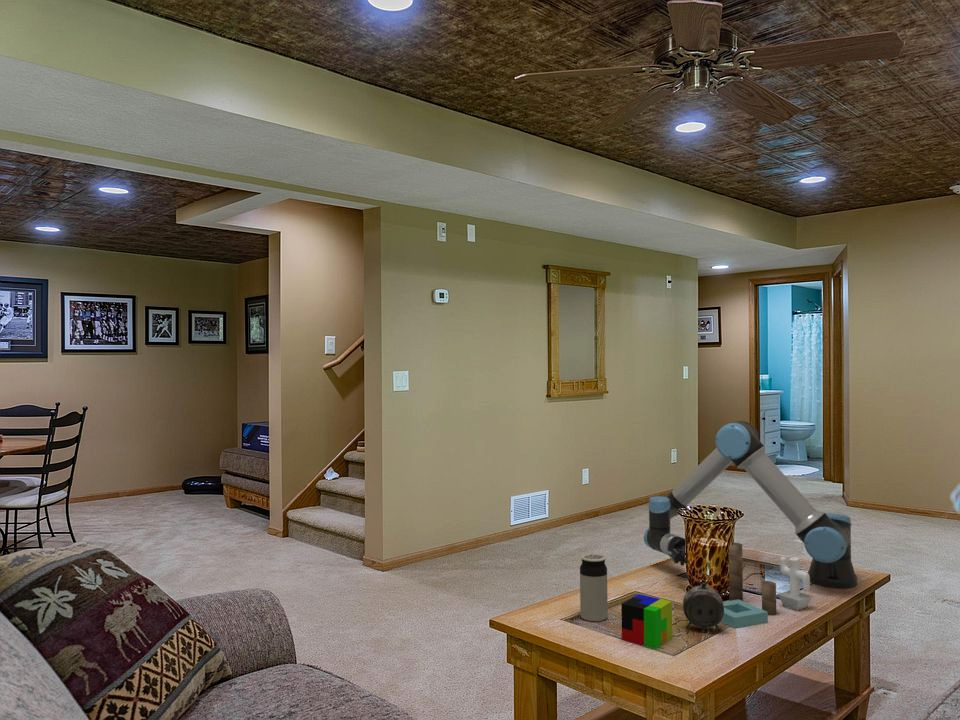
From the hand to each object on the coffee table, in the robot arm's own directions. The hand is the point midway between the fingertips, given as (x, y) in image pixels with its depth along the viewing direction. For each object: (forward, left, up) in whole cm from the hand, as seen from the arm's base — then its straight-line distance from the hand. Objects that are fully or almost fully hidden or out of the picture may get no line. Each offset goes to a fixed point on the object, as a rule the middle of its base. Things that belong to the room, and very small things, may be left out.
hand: (715, 562), depth 238 cm
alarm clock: (+25, +25, -10) cm, 37 cm away
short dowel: (-2, +21, -10) cm, 24 cm away
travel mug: (+48, +4, -10) cm, 49 cm away
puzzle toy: (+43, +24, -10) cm, 50 cm away
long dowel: (0, +9, -10) cm, 14 cm away
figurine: (-13, +20, -10) cm, 26 cm away
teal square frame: (+10, +21, -10) cm, 26 cm away
